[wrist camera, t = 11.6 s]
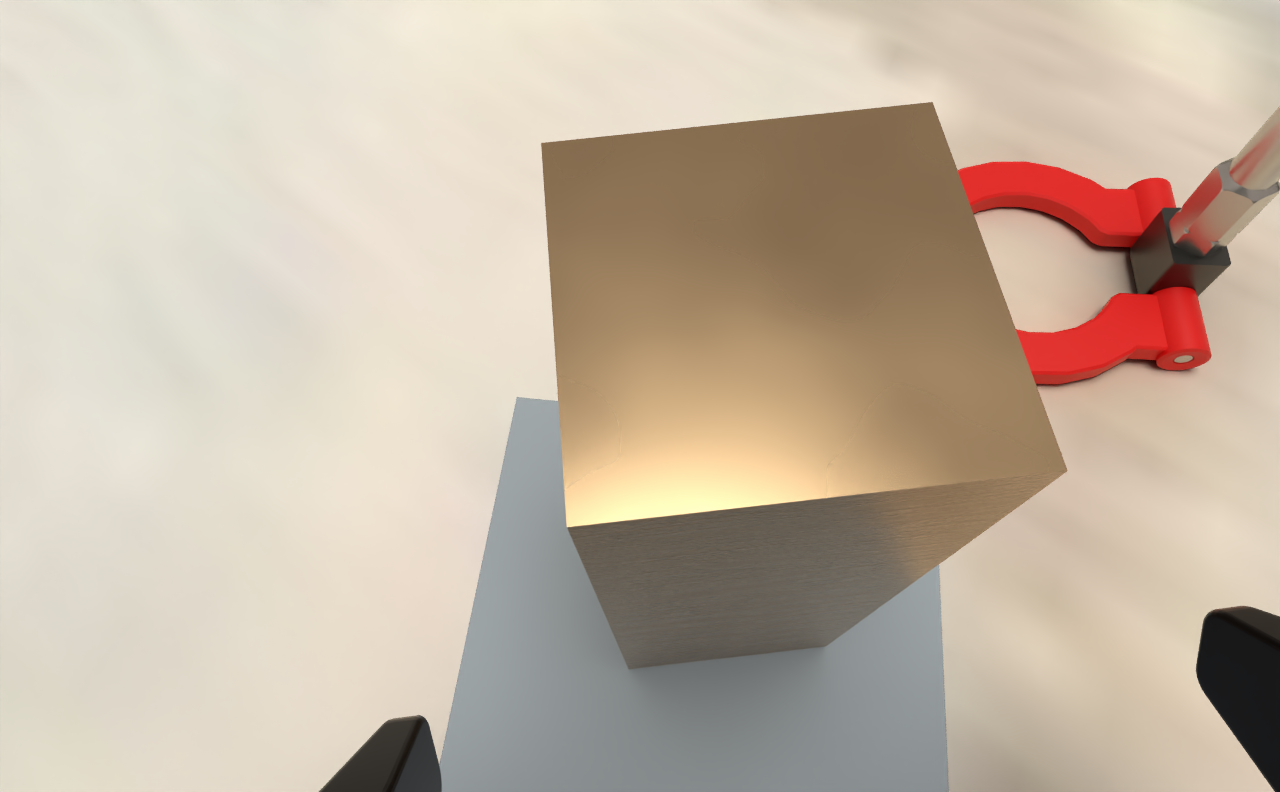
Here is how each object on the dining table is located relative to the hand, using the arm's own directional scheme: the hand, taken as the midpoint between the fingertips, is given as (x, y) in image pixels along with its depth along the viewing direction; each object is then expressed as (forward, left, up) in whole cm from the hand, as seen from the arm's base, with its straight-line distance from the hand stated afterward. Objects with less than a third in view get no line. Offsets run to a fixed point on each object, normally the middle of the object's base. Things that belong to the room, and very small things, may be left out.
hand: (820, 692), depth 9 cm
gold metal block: (+4, +1, -11) cm, 12 cm away
